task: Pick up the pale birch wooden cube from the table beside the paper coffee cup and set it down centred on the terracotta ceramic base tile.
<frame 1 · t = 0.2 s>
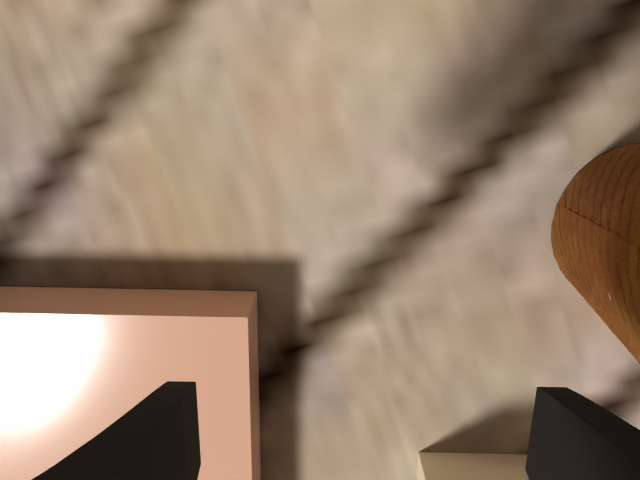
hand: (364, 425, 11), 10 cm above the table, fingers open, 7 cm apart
terracotta base: (91, 445, 22), on the table
disposable coffee cup: (630, 224, 19), on the table
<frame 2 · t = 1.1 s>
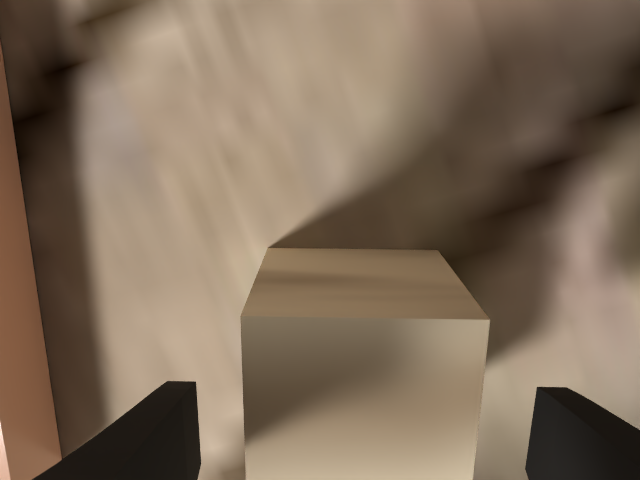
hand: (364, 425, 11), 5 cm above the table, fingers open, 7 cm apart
birch block: (350, 325, 16), on the table
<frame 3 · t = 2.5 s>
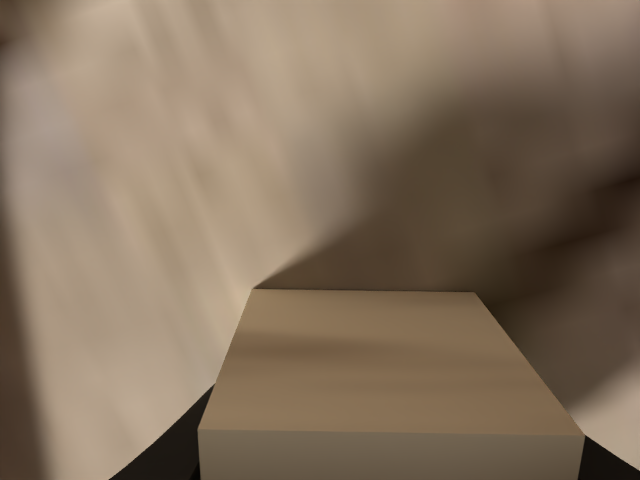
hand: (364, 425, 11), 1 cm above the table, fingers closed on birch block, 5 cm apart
birch block: (359, 388, 12), on the table, touching gripper
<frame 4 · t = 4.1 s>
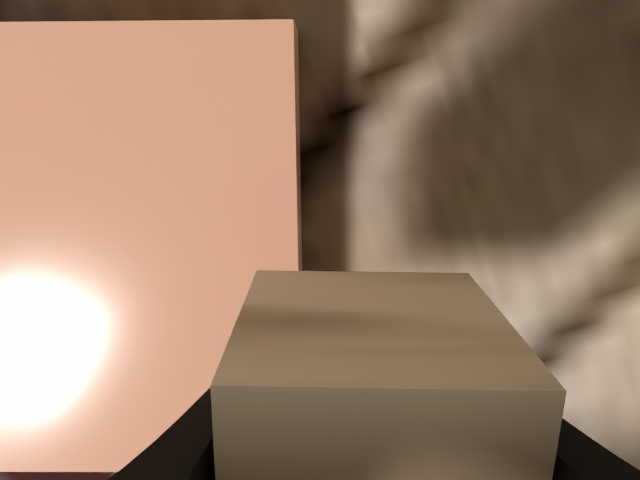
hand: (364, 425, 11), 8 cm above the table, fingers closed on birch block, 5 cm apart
terracotta base: (98, 252, 18), on the table
birch block: (359, 366, 13), point 6 cm above the table, touching gripper
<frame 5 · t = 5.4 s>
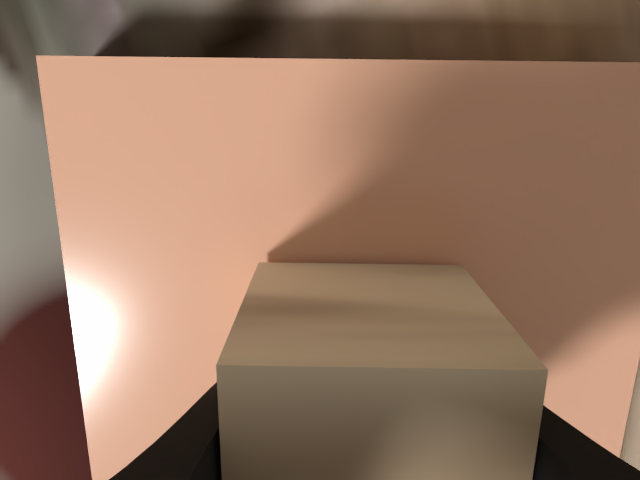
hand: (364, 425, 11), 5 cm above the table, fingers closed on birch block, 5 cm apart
terracotta base: (351, 318, 16), on the table
birch block: (356, 355, 13), point 3 cm above the table, touching gripper
when the fingers open (5 cm above the table, at t = 6.1 s): birch block stays where it is, resting on terracotta base.
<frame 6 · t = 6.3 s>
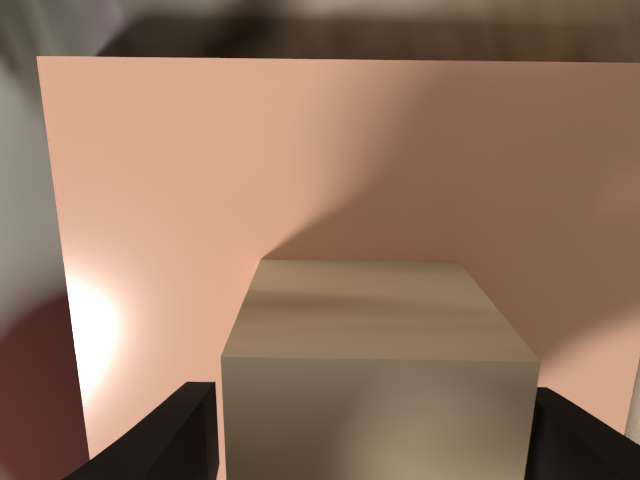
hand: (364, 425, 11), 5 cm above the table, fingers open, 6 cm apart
terracotta base: (351, 318, 16), on the table
birch block: (356, 350, 13), point 2 cm above the table, touching terracotta base
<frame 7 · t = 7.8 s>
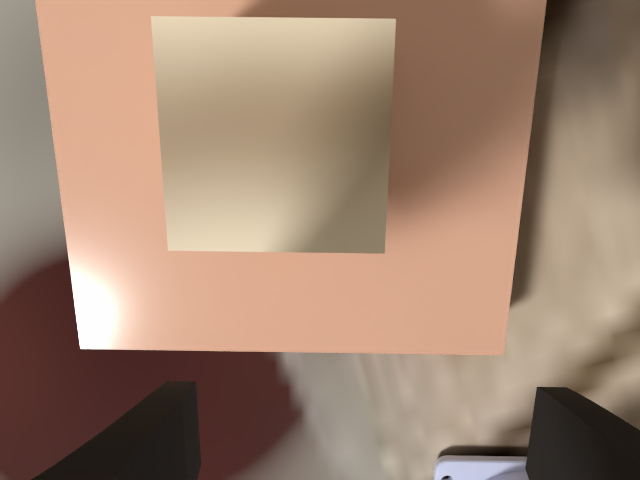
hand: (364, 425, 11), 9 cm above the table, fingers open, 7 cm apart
terracotta base: (295, 131, 18), on the table
birch block: (290, 129, 16), point 2 cm above the table, touching terracotta base
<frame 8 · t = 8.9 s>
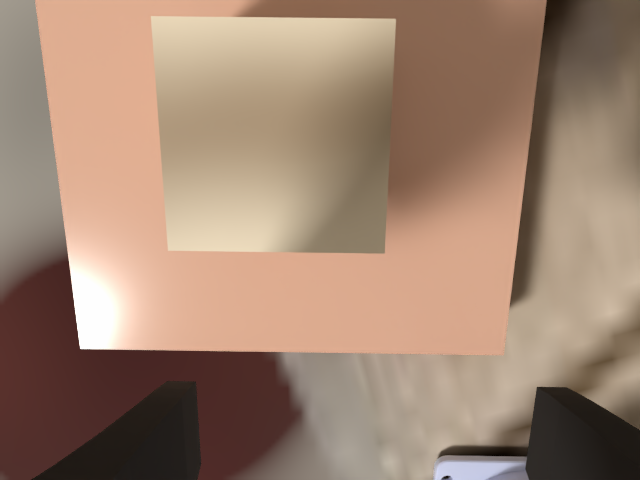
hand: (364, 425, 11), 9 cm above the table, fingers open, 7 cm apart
terracotta base: (295, 131, 18), on the table
birch block: (290, 129, 16), point 2 cm above the table, touching terracotta base
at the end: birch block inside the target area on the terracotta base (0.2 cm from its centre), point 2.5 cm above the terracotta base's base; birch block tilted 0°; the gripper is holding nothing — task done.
